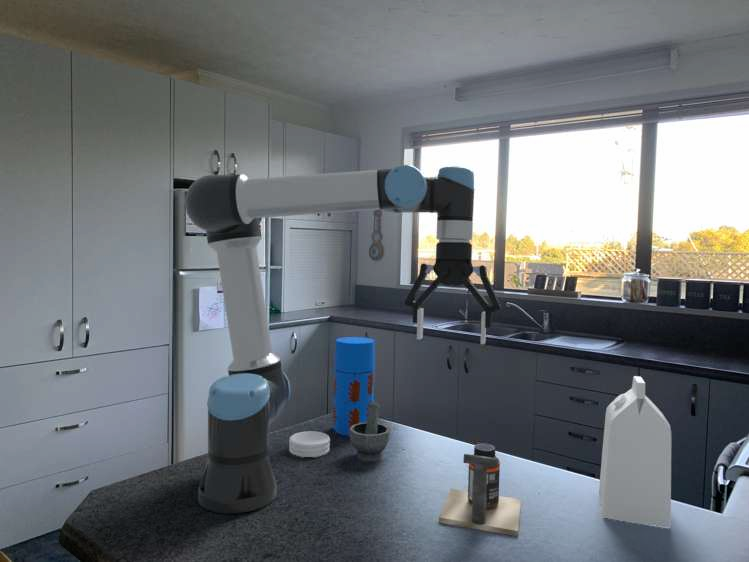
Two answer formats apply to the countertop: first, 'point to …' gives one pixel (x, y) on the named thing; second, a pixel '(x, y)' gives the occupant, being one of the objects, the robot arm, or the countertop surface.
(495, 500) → the supplement bottle
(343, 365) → the thermos
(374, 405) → the mortar and pestle
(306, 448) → the white round container
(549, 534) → the countertop surface
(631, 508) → the milk
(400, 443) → the countertop surface
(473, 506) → the headphone stand
